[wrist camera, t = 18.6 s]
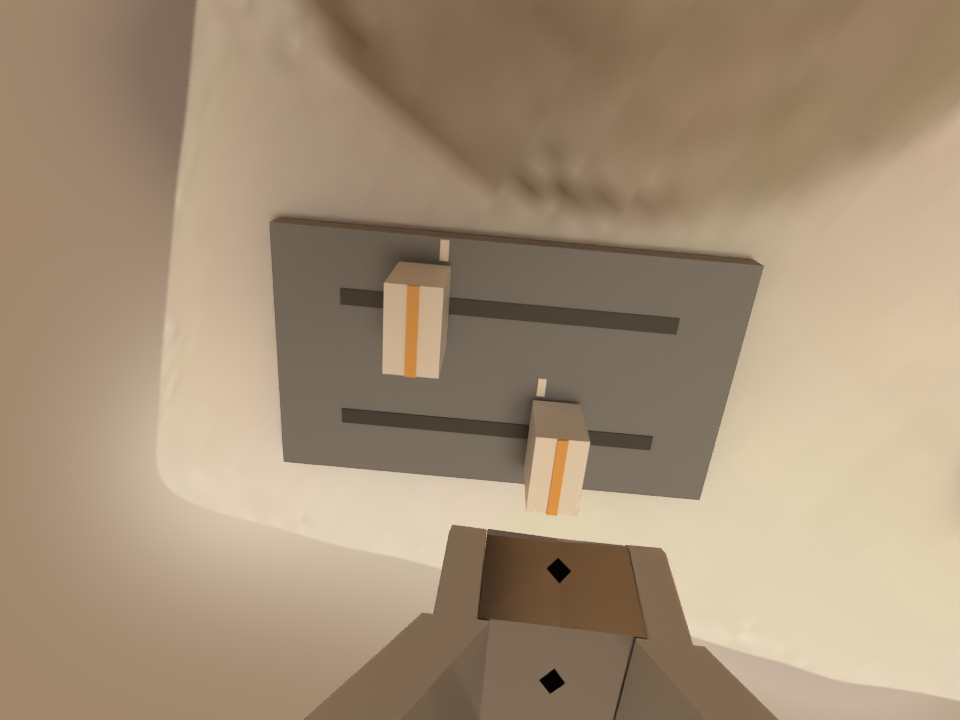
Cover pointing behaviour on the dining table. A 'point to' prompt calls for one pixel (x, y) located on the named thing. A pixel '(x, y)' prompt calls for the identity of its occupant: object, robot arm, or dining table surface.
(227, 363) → the dining table surface
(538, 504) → the fader
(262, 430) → the dining table surface
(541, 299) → the console
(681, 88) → the dining table surface
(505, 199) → the dining table surface
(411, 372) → the fader
